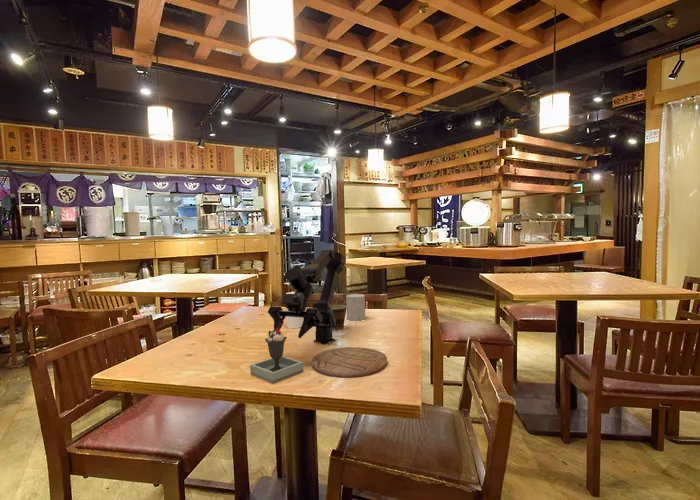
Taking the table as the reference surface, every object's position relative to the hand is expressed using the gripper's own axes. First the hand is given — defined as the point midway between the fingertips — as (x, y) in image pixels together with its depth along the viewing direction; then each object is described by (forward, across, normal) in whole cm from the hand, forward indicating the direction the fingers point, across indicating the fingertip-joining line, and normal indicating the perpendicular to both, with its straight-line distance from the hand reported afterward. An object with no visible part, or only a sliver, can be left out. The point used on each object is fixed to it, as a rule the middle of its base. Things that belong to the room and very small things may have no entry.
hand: (286, 336), depth 119 cm
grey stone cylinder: (-40, 0, +55) cm, 68 cm away
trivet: (+2, +19, +13) cm, 23 cm away
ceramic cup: (-26, -4, +41) cm, 48 cm away
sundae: (+11, 0, +2) cm, 11 cm away
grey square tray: (+12, 0, +2) cm, 12 cm away
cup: (-26, -24, +41) cm, 54 cm away
